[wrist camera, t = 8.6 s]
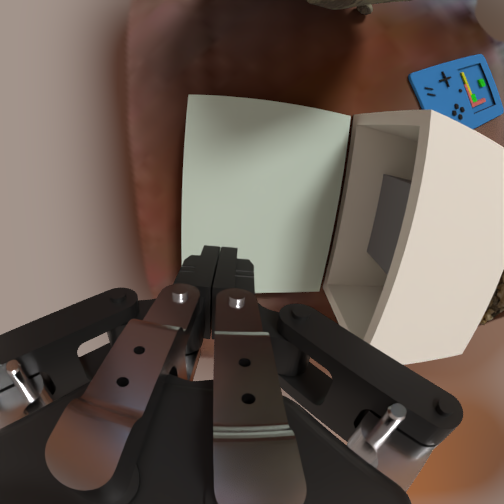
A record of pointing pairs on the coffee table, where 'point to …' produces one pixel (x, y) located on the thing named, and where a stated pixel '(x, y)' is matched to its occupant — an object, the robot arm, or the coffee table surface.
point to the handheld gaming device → (459, 90)
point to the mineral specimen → (495, 302)
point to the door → (263, 185)
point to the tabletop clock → (350, 4)
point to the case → (417, 234)
